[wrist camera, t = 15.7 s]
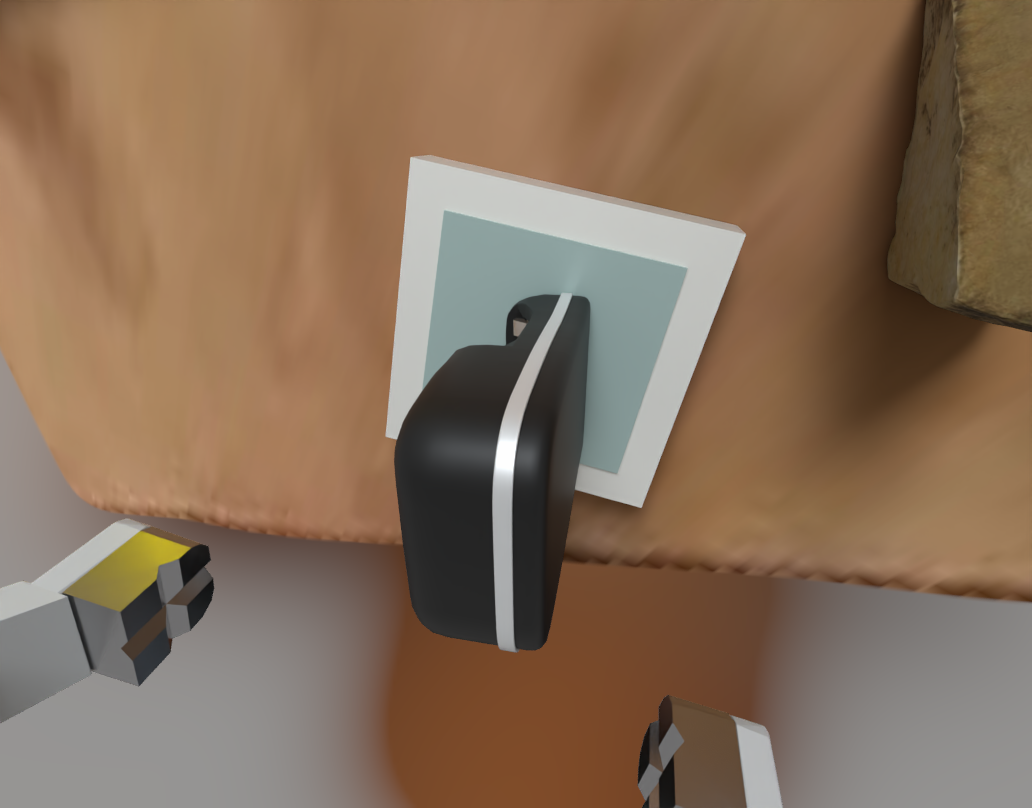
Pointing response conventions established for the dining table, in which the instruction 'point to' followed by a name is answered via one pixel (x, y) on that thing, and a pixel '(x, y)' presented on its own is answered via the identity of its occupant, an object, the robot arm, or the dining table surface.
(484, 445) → the battery charger
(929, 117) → the rock
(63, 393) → the dining table surface
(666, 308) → the plate
